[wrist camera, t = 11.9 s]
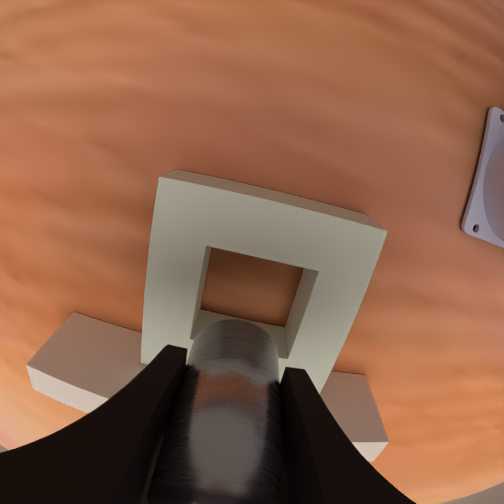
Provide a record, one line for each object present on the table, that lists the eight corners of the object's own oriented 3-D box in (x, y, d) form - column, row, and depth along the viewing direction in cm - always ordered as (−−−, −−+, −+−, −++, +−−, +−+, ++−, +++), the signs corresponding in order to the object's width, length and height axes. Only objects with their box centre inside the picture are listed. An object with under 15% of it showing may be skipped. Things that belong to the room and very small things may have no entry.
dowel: (287, 328, 10) (303, 494, 5) (267, 391, 11) (266, 536, 6) (196, 311, 10) (142, 470, 4) (188, 377, 11) (149, 518, 6)
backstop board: (365, 374, 20) (389, 442, 14) (354, 395, 20) (372, 461, 15) (73, 311, 19) (26, 364, 13) (75, 335, 19) (33, 389, 14)
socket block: (367, 215, 16) (387, 231, 13) (311, 365, 19) (317, 398, 16) (177, 169, 15) (159, 176, 13) (155, 332, 19) (140, 362, 16)
